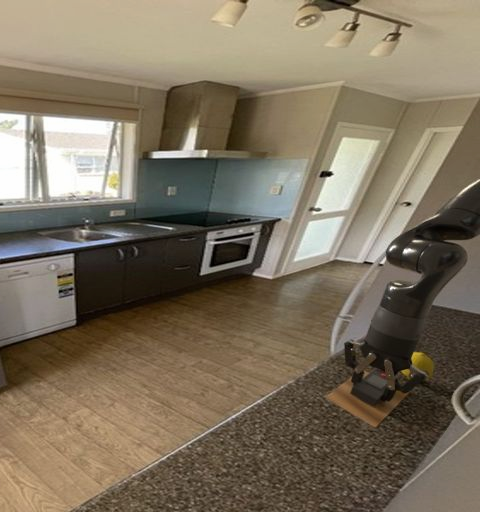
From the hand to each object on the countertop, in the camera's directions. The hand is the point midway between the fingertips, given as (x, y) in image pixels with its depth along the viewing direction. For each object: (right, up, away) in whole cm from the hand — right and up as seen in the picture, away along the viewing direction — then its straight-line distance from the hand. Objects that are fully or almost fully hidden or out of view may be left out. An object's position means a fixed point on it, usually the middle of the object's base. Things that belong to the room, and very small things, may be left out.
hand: (369, 392), depth 66 cm
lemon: (+16, 0, +6) cm, 17 cm away
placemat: (0, -1, 0) cm, 1 cm away
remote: (+3, 0, +2) cm, 3 cm away
